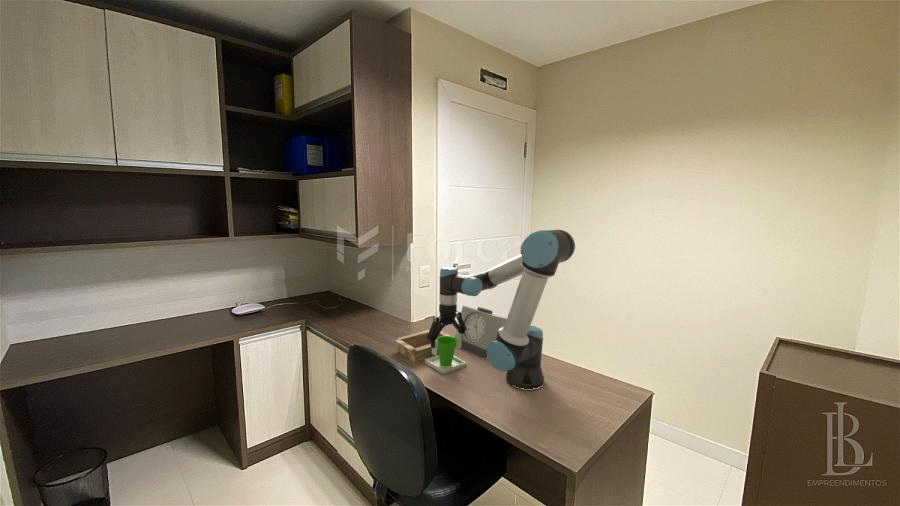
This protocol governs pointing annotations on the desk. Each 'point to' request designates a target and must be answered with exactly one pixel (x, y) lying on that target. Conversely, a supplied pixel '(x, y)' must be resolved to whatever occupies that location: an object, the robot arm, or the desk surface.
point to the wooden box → (417, 345)
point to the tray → (436, 365)
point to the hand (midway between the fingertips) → (446, 350)
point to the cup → (446, 349)
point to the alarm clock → (479, 329)
